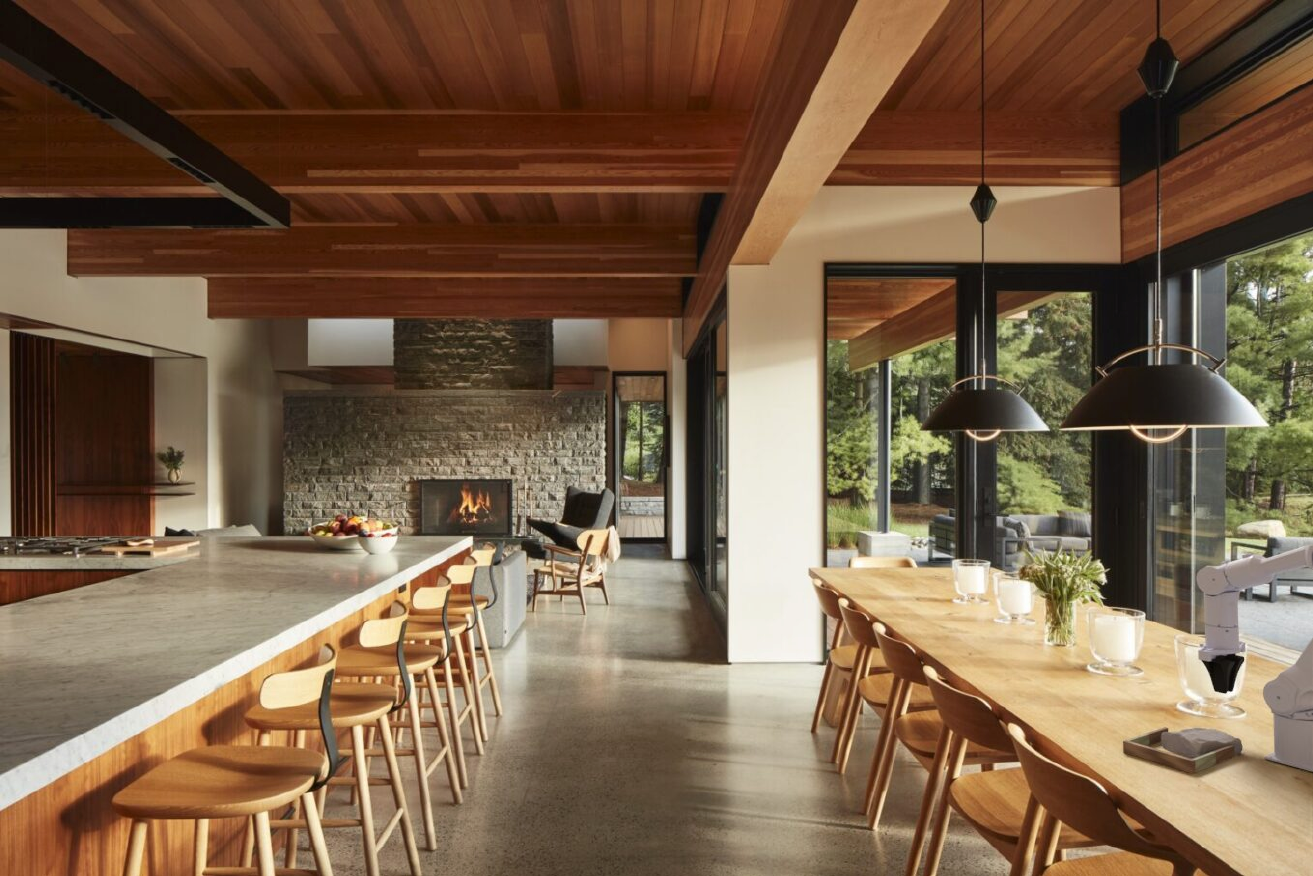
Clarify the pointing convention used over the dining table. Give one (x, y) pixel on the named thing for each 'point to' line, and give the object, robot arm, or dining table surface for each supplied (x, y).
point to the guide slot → (1141, 749)
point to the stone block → (1198, 741)
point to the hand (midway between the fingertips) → (1223, 691)
